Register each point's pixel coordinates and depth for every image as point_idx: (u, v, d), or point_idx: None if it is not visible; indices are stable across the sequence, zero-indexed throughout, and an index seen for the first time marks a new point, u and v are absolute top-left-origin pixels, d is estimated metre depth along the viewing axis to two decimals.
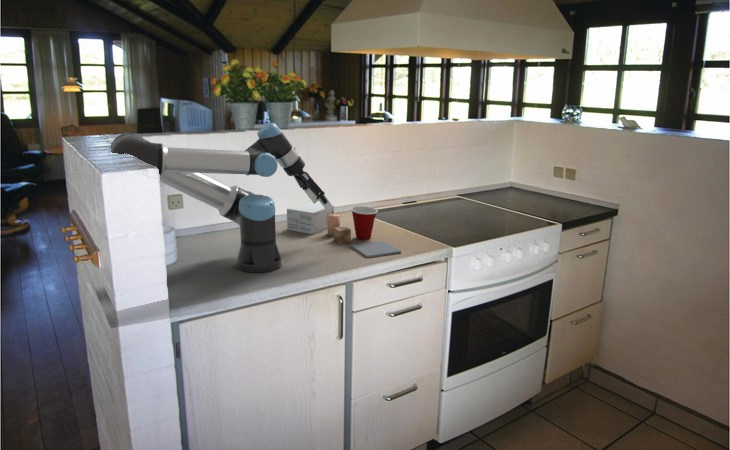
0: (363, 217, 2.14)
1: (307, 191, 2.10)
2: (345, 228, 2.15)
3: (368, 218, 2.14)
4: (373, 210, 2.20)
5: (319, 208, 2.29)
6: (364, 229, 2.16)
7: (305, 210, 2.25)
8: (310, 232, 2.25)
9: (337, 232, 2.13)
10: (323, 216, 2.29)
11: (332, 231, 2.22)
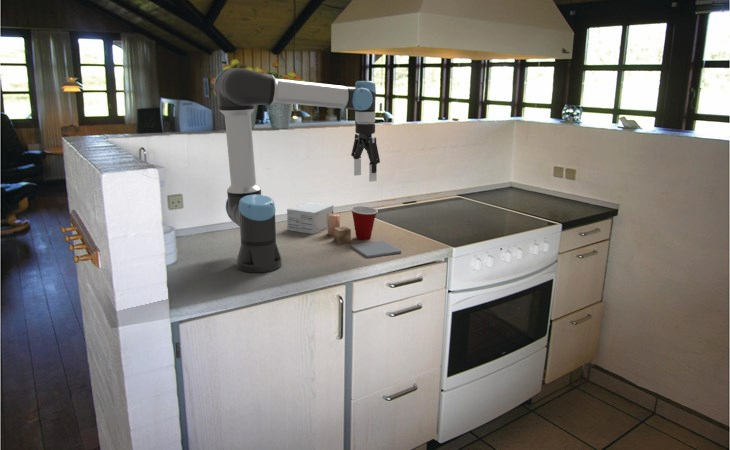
0: (363, 217, 2.14)
1: (356, 161, 2.18)
2: (345, 228, 2.15)
3: (368, 218, 2.14)
4: (373, 210, 2.20)
5: (319, 208, 2.29)
6: (364, 229, 2.16)
7: (306, 210, 2.25)
8: (311, 232, 2.25)
9: (337, 232, 2.13)
10: (323, 216, 2.30)
11: (332, 231, 2.22)
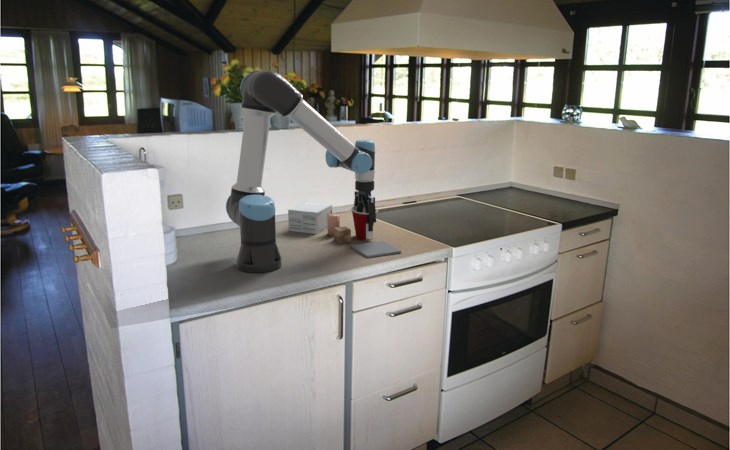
0: (363, 217, 2.14)
1: None
2: (345, 228, 2.15)
3: None
4: None
5: (320, 208, 2.30)
6: (364, 229, 2.16)
7: (308, 210, 2.25)
8: (314, 232, 2.25)
9: (337, 232, 2.13)
10: (324, 215, 2.30)
11: (332, 231, 2.22)
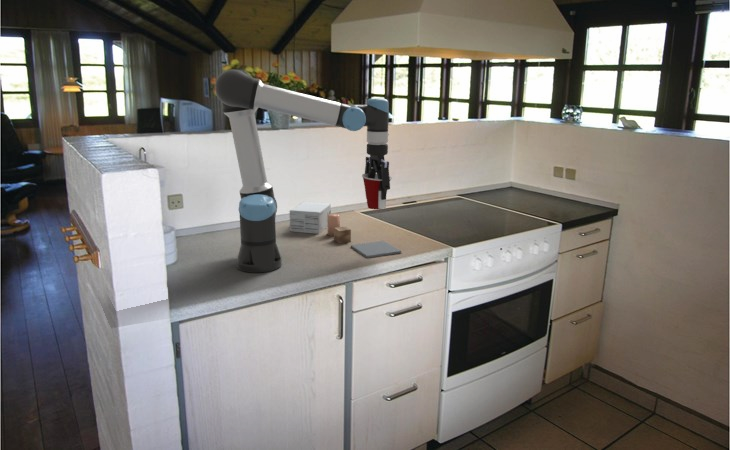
0: (375, 183, 1.94)
1: None
2: (345, 228, 2.15)
3: None
4: None
5: (321, 207, 2.30)
6: (376, 197, 1.96)
7: (310, 210, 2.25)
8: (317, 232, 2.25)
9: (337, 232, 2.14)
10: (325, 215, 2.31)
11: (332, 231, 2.22)
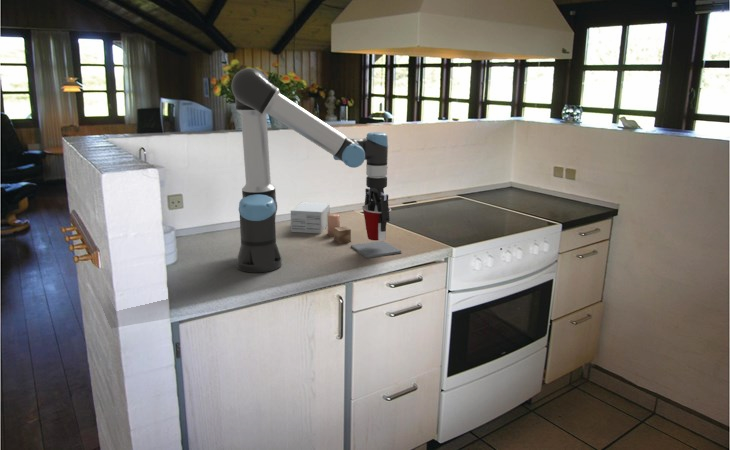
0: (375, 216, 1.97)
1: None
2: (345, 228, 2.15)
3: None
4: None
5: (321, 207, 2.31)
6: (376, 229, 1.99)
7: (311, 210, 2.25)
8: (319, 231, 2.25)
9: (337, 232, 2.14)
10: (325, 215, 2.32)
11: (332, 231, 2.22)
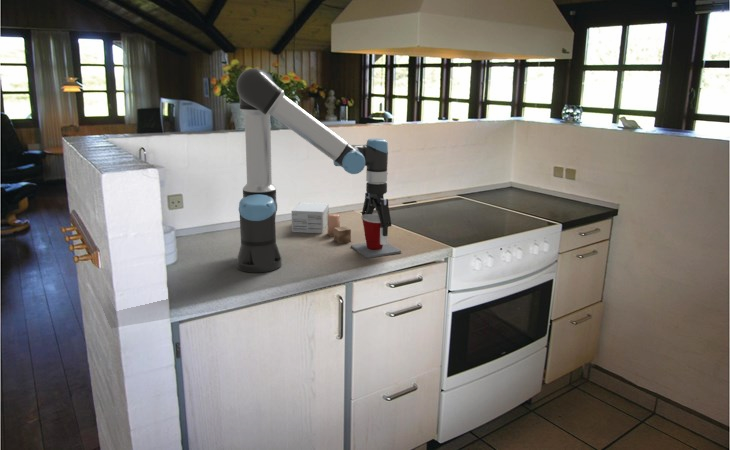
0: (374, 225, 1.98)
1: None
2: (345, 228, 2.15)
3: None
4: None
5: (321, 207, 2.31)
6: (375, 238, 2.01)
7: (312, 210, 2.25)
8: (320, 231, 2.26)
9: (337, 232, 2.14)
10: (326, 214, 2.32)
11: (332, 231, 2.22)
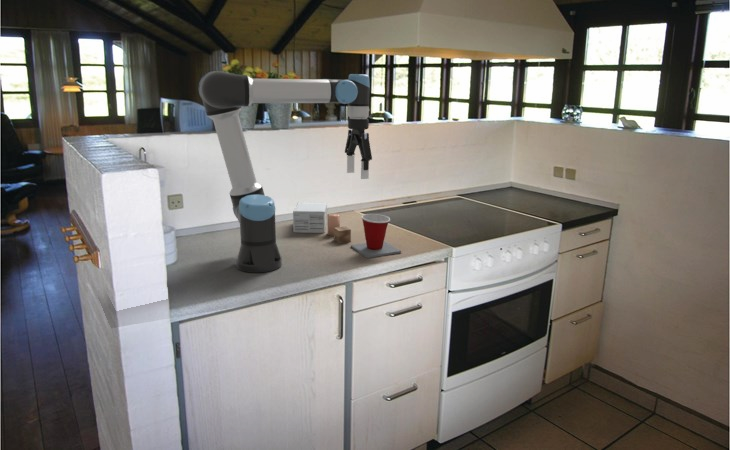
0: (374, 225, 1.98)
1: (349, 157, 2.09)
2: (345, 228, 2.15)
3: (380, 227, 1.99)
4: (385, 218, 2.05)
5: (321, 207, 2.31)
6: (375, 238, 2.01)
7: (314, 210, 2.26)
8: (322, 231, 2.26)
9: (337, 232, 2.14)
10: None
11: (332, 231, 2.22)
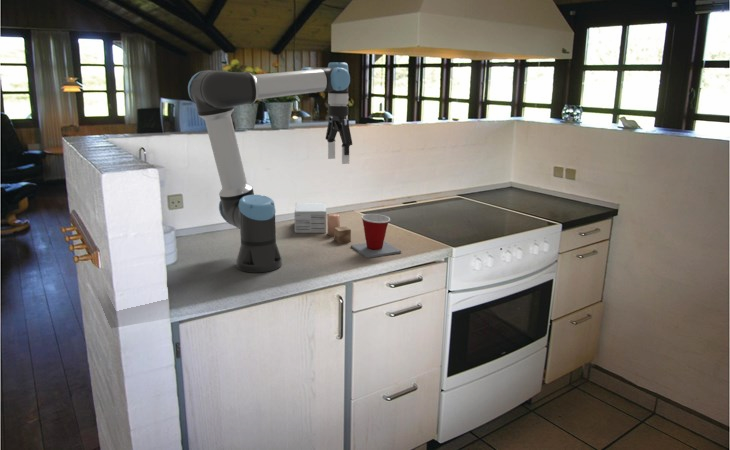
0: (374, 225, 1.98)
1: (330, 144, 2.16)
2: (345, 228, 2.15)
3: (380, 227, 1.99)
4: (385, 218, 2.05)
5: (321, 206, 2.32)
6: (375, 238, 2.01)
7: (315, 210, 2.26)
8: (324, 231, 2.27)
9: (337, 232, 2.14)
10: None
11: (332, 231, 2.22)
